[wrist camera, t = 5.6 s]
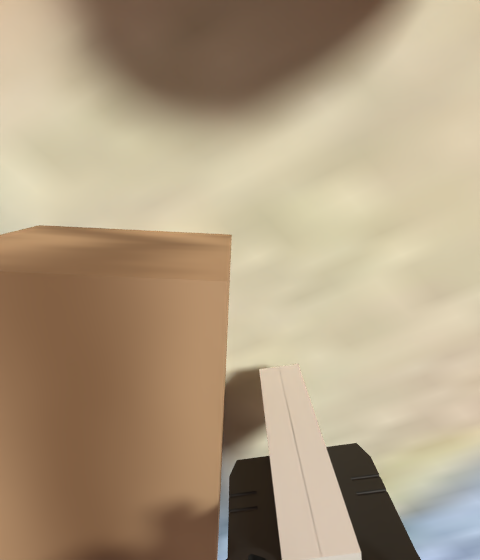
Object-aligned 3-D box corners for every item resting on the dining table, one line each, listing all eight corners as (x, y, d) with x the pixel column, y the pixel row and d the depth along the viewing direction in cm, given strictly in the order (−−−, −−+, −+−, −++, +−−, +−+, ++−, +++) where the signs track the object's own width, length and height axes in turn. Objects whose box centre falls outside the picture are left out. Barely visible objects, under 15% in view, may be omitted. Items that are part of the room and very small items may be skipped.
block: (77, 508, 16) (-7, 686, 11) (42, 224, 12) (-127, 265, 7) (219, 512, 17) (210, 689, 11) (231, 233, 12) (228, 281, 7)
